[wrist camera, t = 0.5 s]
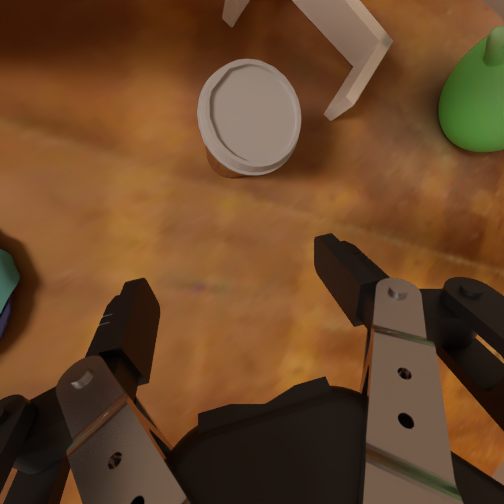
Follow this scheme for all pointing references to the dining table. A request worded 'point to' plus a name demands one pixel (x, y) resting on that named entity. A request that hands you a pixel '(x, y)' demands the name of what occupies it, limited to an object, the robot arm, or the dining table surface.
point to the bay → (339, 41)
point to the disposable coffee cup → (248, 118)
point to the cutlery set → (6, 287)
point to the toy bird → (476, 97)
